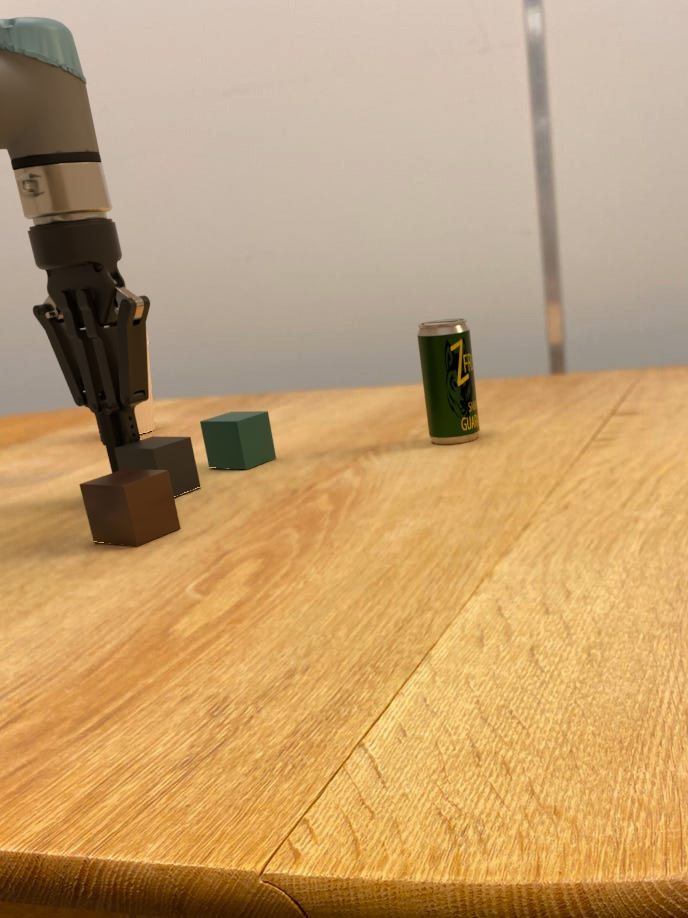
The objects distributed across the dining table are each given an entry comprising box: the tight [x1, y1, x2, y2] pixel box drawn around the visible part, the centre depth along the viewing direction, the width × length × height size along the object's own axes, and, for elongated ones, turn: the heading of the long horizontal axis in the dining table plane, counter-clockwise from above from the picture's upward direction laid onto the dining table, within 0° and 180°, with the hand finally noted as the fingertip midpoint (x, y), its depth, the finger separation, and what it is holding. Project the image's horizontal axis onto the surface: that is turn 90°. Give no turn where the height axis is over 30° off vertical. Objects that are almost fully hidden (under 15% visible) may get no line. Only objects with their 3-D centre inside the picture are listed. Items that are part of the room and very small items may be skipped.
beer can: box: [416, 318, 481, 445], centre depth 110 cm, size 5×5×12 cm
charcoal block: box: [114, 435, 201, 496], centre depth 101 cm, size 5×5×5 cm
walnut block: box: [78, 469, 181, 547], centre depth 87 cm, size 5×5×5 cm
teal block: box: [199, 410, 277, 471], centre depth 111 cm, size 5×5×5 cm
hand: (129, 478), depth 104 cm, fingers closed
